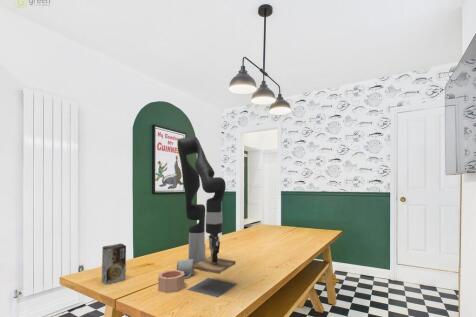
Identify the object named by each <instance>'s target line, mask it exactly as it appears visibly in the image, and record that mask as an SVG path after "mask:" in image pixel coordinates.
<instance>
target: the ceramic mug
mask: <svg viewBox="0 0 476 317" xmlns="http://www.w3.org/2000/svg"><path fill="white" fill-rule="evenodd" d="M176 262H177V263H176V270H179V271H184V280H188V279H189V278H191V276H194V273H195V269H192V265H194V261H193V259H190V260H189V259H184V260H179V261H176Z"/></svg>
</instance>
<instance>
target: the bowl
mask: <svg viewBox="0 0 476 317" xmlns="http://www.w3.org/2000/svg"><path fill="white" fill-rule="evenodd" d="M157 277H158V281H157V282H158V284H157V285H158V286H157V291H158V292H162V293H166V294H167V293H174V292H179V291H181V290H183V289H184V288H185V279H184V277H185V276H184V271H179V270H177V269H172V270H165V271H162V272H159V273H158V276H157Z"/></svg>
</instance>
